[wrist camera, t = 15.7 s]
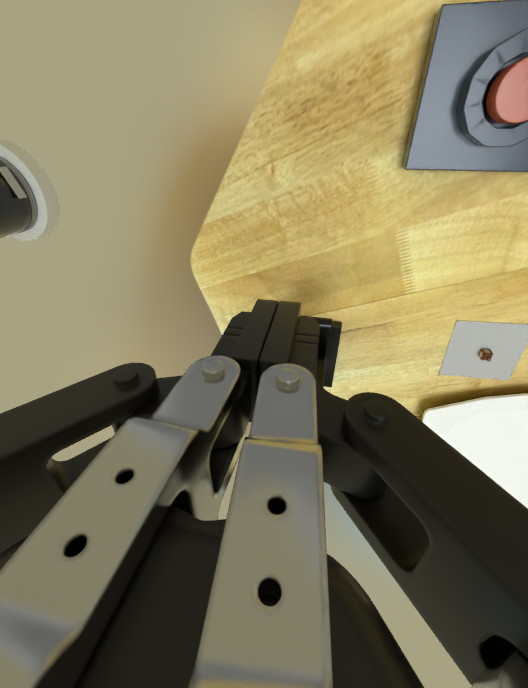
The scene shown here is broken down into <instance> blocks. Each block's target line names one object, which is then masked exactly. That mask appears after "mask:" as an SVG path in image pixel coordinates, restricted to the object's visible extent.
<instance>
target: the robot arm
mask: <svg viewBox="0 0 528 688" xmlns="http://www.w3.org/2000/svg"><path fill="white" fill-rule="evenodd" d="M37 218H38V207H37V202H36V199H35V196H34V193H33V191H32V189H31V187H30V185H29V183H28V182H27V180H26V179H25V178H24V176H23V175H22V174H21V173H20V171H19V170H18V169H17V168H16V167H15V166H14V165H13V164H11V163H10V162H9V161H8V160H6V159H5V158H3V157H1V156H0V238H1V237H5V236H8V235H11V234H15V233H21V232H24V231H28V230H30V229H31V228H33V227H34V225H35V224H36V221H37ZM300 313H301V303H299V302H287V301H280V302H279V301H274V300H262V299H258V300H257V302H256V304H255V306H254V308H253V310H252V312H240V313H239V314H238V315H236V316H235V317H233V318H232V319H231V321H230V323H229V325H228V326H227V328H226V330H225V332H224V334H223V335H222V337H221V339H220V340H219V342H218V344H217V346H216V347H215V349H214V351H213V352H212V354H211V356H209V357H205V358H202V359H199V360H197V361H196V362H194V363H193V364H192V365H191V366H190V367H189V368H188V369H187V371H186V372H185V373H184V375H182V376H175V377H166V378H156V374H155V371H154V369H153V368H152V367H151V366H149V365H147V364H144V363H129V364H124V365H120V366H118V367H115V368H113V369H110V370H108V371H105V372H103V373H100V374H98V375H95V376H93V377H90V378H88V379H85V380H83V381H80V382H78V383H75V384H73V385H70V386H68V387H66V388H63V389H61V390H58V391H56V392H53V393H51V394H48V395H46V396H43V397H41V398H38V399H36V400H33V401H31V402H29V403H26V404H23V405H21V406H19V407H16V408H14V409H11V410H8V411H6V412H3V413H1V414H0V688H424V687H423V685H422V683H421V682H420V680H419V678H418V677H417V675H416V673H415V672H414V670H413V669H412V667H411V665H410V663H409V662H408V660H407V658H406V657H405V655H404V653H403V652H402V651H401V648H400V647H399V645H398V644H397V642H396V640H395V639H394V637H393V635H392V634H391V632H390V630H389V629H388V627H387V625H386V624H385V622H384V620H383V619H382V617H381V616H380V614H379V612H378V610H377V609H376V607H375V605H374V604H373V603H372V601H371V599H370V598H369V596H368V595H367V594H366V592H365V591H364V589H363V588H362V587H361V586H360V584H359V583H358V582H357V580H356V579H355V578H354V577H353V576H352V575H351V574H350V573H349V572H348V571H347V570H346V569H345V568H344V567H343V566H342V565H341V564H340V563H339V562H337V561H336V560H335V559H334V558H333V557H331V556H330V555H328V554H327V552H326V531H325V530H326V528H325V509H324V508H325V507H324V486H323V481H324V482H326V483H328V484H330V485H331V489H332V492H333V494H334V496H335V497H336V499H337V500H338V501H339V503H340V504H341V505H342V506H343V508H344V510H345V511H346V512H347V514H348V515H349V517H350V518H351V519H352V521H353V522H354V524H355V525H356V526H357V528H358V529H359V530H360V532H361V533H362V535H363V536H364V537H365V539H366V540H367V541H368V543H369V544H370V546H371V547H372V548H373V550H374V551H375V553H376V554H377V555H378V557H379V558H380V559H381V561H382V562H383V563H384V565H385V566H386V568H387V569H388V571H389V572H390V573H391V575H392V576H393V577H394V579H395V580H396V582H397V583H398V584H399V586H400V587H401V588H402V590H403V591H404V593H405V594H406V595H407V597H408V598H409V599H410V601H411V602H412V604H413V605H414V606H415V608H416V609H417V611H418V612H419V613H420V615H421V616H422V618H423V619H424V620H425V622H426V623H427V624H428V626H429V627H430V629H431V630H432V631H433V633H434V634H435V635H436V637H437V638H438V640H439V641H440V642H441V644H442V645H443V647H444V648H445V649H446V651H447V652H448V653H449V655H450V656H451V658H452V659H453V660H454V662H455V663H456V664H457V666H458V667H459V669H460V670H461V671H462V673H463V674H464V675H465V677H466V678H467V680H468V681H469V683H470V684H471V685H472V688H528V508H526V507H525V506H524V505H523V504H522V503H520V502H519V501H518V500H517V499H515V498H514V497H513V496H512V495H511V494H509V493H508V492H507V491H506V490H505V489H503V488H502V487H501V486H500V485H498V484H497V483H496V482H495V481H494V480H492V479H491V478H490V477H489V476H487V475H486V474H485V473H484V472H483V471H481V470H480V469H479V468H478V467H476V466H475V465H474V464H473V463H472V462H470V461H469V460H468V459H467V458H466V457H464V456H463V455H462V454H461V453H459V452H458V451H457V450H456V449H455V448H453V447H452V446H451V445H450V444H448V443H447V442H446V441H445V440H444V439H442V438H441V437H440V436H439V435H437V434H436V433H435V432H434V431H433V430H431V429H430V428H429V427H428V426H426V425H425V424H424V423H423V422H422V421H420V420H419V419H418V418H417V417H416V416H414V415H413V414H412V413H411V412H409V411H408V410H407V409H406V408H405V407H403V406H402V405H401V404H400V403H398V402H397V401H395V400H394V399H392V398H390V397H388V396H385V395H382V394H378V393H370V392H367V393H359V394H356V395H354V396H352V397H351V398H350V399H349V400H348V401H347V400H345V399H342V398H339V397H337V396H335V395H332V394H331V393H329V392H327V391H326V390H325V389H324V388H323V387H322V386H321V385H320V384H319V382H318V380H317V377H316V369H317V357H318V345H319V333H320V325H319V324H318V322H317V321H316V319H315V318H310V317H300ZM248 422H252V425H251V429H250V434H249V437H245V438H244V434H245V431H246V428H247V425H248ZM111 425H112V427H113V429H114V432H115V434H114V436H113V437H112V438H110V439H108V440H106V441H104V442H102V443H100V444H98V445H97V446H95V447H93V448H91V449H89V450H87V451H85V452H83V453H81V454H79V455H78V456H76V457H74V458H72V459H69V460H67V461H61V462H60V461H55V460H53V459H52V458H51V457H52V456H53V455H54V454H55V453H57V452H59V451H60V450H62V449H64V448H67V447H69V446H70V445H73V444H75V443H76V442H79V441H81V440H82V439H85V438H86V437H89V436H90V435H93V434H94V433H97V432H99V431H101V430H103V429H104V428H107V427H109V426H111ZM239 455H240V458H239ZM238 458H239V462H238V467H237V472H236V476H235V481H234V485H233V490H232V495H231V500H230V504H229V509H228V514H227V518H226V519H224V520H218V514H219V508H220V504H221V501H222V498H223V496H224V493H225V491H226V488H227V485H228V483H229V481H230V478H231V476H232V473H233V470H234V468H235V465H236V463H237V460H238Z"/></svg>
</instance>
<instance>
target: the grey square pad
mask: <svg viewBox="0 0 528 688" xmlns="http://www.w3.org/2000/svg"><path fill="white" fill-rule="evenodd" d="M527 343H528V324H511V323H491V322H472V321H457V322H456V325H455V328H454V331H453V334H452V337H451V340H450V343H449V346H448V348H447V351H446V354H445V357H444V360H443V363H442V366H441V369H440V372H439V375H451V376H463V377H474V378H486V379H498V380H509V379H510V377H511V375H512V373H513V371H514V369H515V367H516V365H517V363H518V361H519V359H520V357H521V355H522V353H523V351H524V349H525V347H526V345H527Z"/></svg>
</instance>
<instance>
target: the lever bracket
mask: <svg viewBox="0 0 528 688" xmlns="http://www.w3.org/2000/svg"><path fill="white" fill-rule="evenodd" d="M341 328H342V323H341V322H334V321H332V326H331V330H321V329H320V333H319V345H318V357H317V369H316V377H317V380H318V382H319V384H320V385H321V386H322V387H323V386H326V387H332V381H333V375H334V370H335V364H336V358H337V352H338V346H339V340H340V334H341Z"/></svg>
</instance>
